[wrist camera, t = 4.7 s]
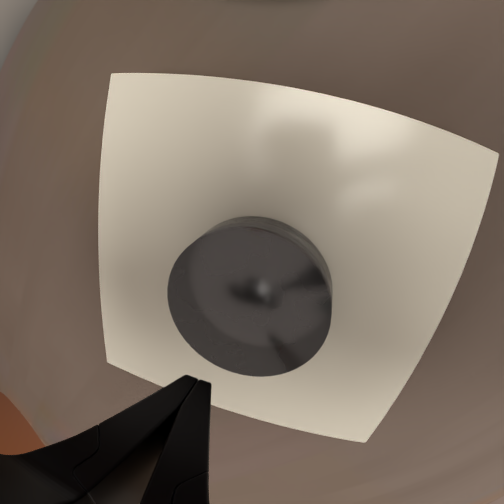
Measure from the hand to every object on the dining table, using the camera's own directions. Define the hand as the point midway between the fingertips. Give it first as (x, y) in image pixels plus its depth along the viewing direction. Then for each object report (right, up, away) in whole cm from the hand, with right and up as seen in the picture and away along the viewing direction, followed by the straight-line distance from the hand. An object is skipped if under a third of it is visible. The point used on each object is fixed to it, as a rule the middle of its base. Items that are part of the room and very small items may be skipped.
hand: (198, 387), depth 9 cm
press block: (+3, +4, +10) cm, 11 cm away
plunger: (+3, +4, +10) cm, 11 cm away
